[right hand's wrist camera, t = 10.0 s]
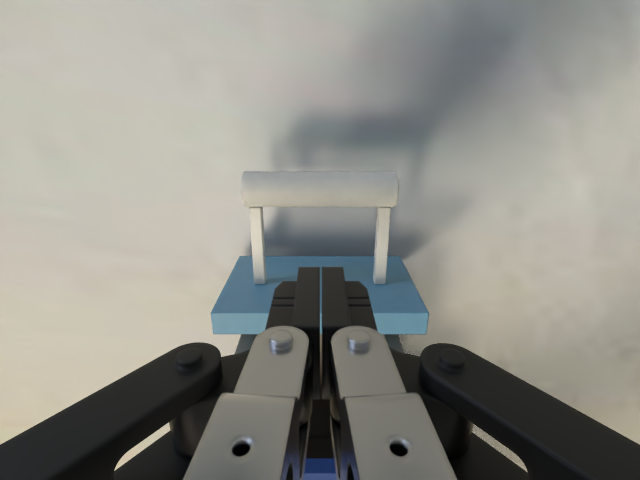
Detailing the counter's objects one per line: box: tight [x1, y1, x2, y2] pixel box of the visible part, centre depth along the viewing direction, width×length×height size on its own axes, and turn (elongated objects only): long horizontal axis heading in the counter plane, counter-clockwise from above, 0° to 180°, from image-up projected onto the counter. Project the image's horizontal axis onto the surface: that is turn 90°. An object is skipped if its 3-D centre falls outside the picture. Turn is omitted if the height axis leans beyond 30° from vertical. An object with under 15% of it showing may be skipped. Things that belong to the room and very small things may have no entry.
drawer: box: [211, 171, 429, 458], centre depth 22 cm, size 21×10×7 cm, turn 0°
